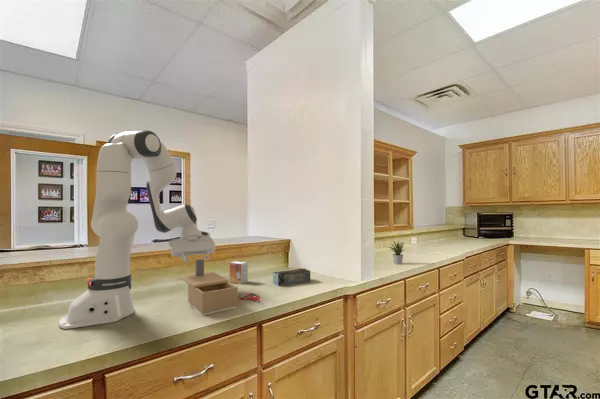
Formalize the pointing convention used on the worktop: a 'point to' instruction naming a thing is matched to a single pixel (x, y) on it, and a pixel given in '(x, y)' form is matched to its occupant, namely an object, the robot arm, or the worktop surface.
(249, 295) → the scissors
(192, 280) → the carton lid
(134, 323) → the worktop surface
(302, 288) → the worktop surface
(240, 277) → the small box
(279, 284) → the beverage carton
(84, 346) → the worktop surface
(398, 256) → the house plant
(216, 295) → the carton
